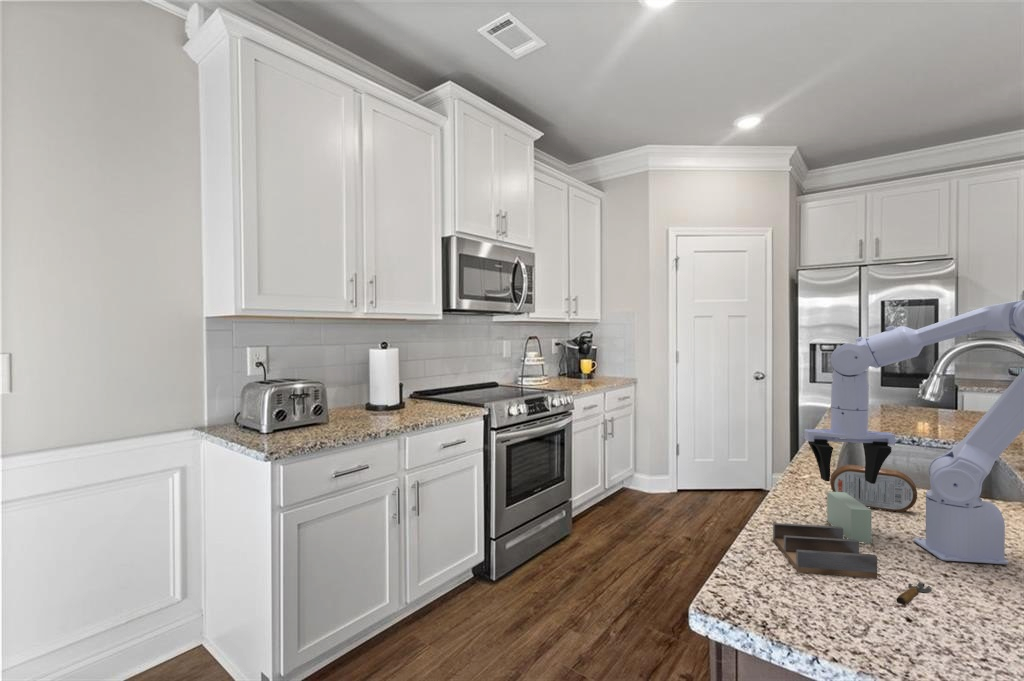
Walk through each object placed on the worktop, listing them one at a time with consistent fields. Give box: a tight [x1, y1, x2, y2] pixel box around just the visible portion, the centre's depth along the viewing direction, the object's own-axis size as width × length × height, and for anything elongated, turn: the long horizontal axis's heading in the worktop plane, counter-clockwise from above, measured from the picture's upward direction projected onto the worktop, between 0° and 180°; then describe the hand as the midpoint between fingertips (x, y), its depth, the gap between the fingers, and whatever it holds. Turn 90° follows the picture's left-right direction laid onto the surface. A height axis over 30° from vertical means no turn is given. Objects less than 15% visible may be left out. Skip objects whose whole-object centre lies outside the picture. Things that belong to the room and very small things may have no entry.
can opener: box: [896, 581, 933, 606], centre depth 72 cm, size 9×2×1 cm, turn 118°
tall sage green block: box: [826, 491, 873, 544], centre depth 94 cm, size 3×10×6 cm, turn 169°
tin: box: [829, 464, 918, 513], centre depth 107 cm, size 15×3×8 cm, turn 58°
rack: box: [772, 522, 878, 579], centre depth 83 cm, size 11×12×3 cm
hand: (847, 480), depth 94 cm, fingers open, 7 cm apart
